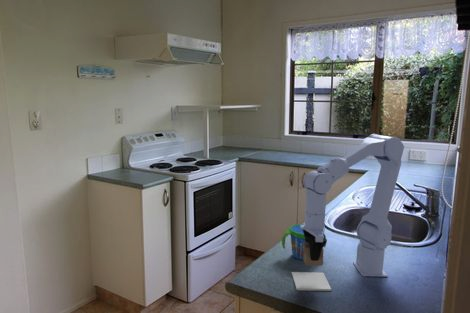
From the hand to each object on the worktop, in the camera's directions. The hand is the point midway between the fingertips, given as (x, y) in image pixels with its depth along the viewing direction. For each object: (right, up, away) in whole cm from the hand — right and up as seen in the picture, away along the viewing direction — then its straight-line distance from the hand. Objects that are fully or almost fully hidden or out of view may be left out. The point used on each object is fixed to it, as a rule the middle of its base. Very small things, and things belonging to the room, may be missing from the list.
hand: (312, 255), depth 110 cm
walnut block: (0, -2, 0) cm, 2 cm away
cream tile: (0, -8, +2) cm, 8 cm away
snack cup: (+1, -6, +19) cm, 20 cm away
